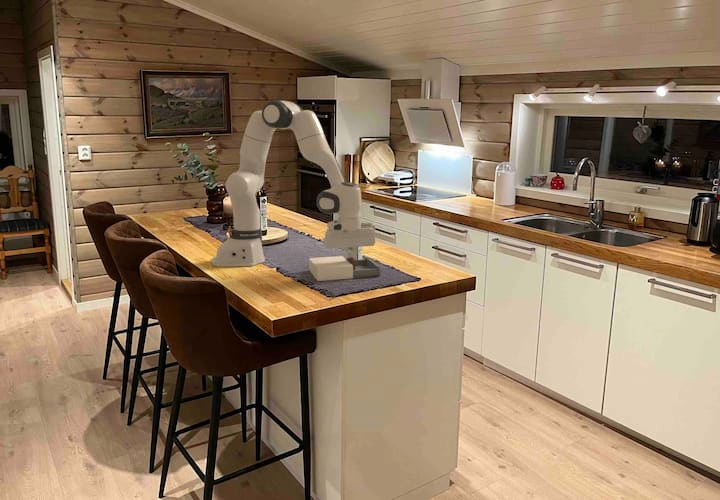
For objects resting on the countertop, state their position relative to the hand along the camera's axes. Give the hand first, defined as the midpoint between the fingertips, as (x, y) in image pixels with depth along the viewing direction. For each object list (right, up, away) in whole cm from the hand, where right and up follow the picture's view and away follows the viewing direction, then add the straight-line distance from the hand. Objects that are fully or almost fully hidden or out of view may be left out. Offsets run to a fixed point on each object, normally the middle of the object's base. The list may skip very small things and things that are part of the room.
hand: (350, 257), depth 240 cm
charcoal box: (+4, -6, +3) cm, 8 cm away
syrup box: (+2, -2, +20) cm, 20 cm away
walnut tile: (0, -3, +1) cm, 3 cm away
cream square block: (-8, -6, -1) cm, 10 cm away
